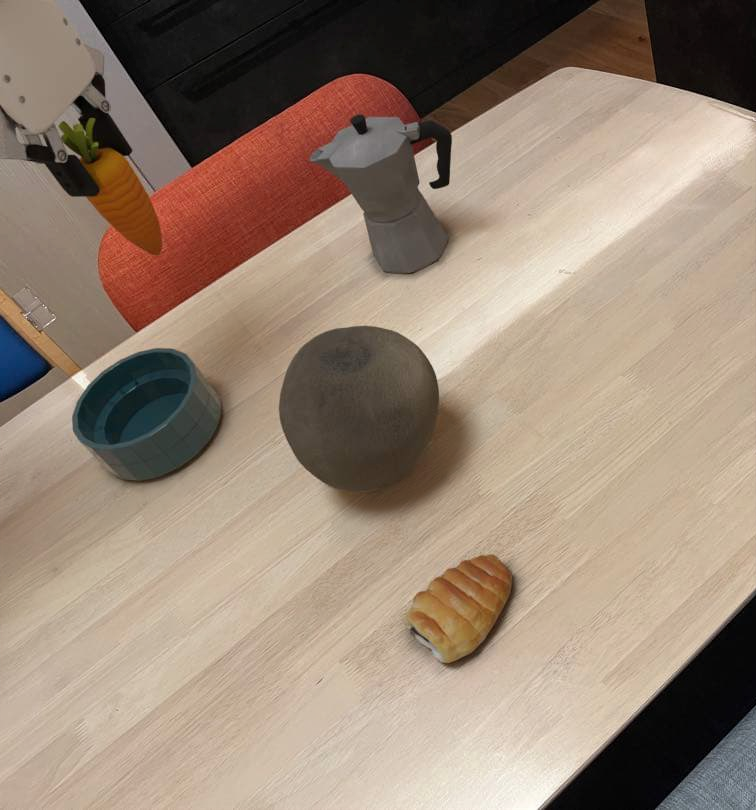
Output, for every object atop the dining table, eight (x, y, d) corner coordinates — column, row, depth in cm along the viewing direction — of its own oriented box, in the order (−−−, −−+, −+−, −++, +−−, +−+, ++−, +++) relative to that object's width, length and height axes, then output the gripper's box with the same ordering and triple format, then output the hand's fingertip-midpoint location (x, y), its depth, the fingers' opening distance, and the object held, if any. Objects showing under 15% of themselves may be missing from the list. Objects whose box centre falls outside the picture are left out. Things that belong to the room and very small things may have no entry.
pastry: (478, 549, 79) (466, 526, 76) (534, 590, 75) (524, 567, 73) (401, 631, 76) (386, 610, 73) (457, 678, 72) (443, 658, 69)
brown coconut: (429, 530, 81) (370, 429, 70) (296, 509, 86) (221, 410, 75) (480, 408, 89) (435, 299, 78) (355, 394, 94) (296, 290, 83)
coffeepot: (356, 287, 105) (291, 157, 92) (360, 235, 111) (300, 106, 98) (485, 258, 103) (438, 122, 90) (482, 207, 110) (438, 73, 96)
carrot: (132, 250, 91) (38, 121, 80) (179, 230, 91) (93, 99, 80) (137, 278, 88) (40, 147, 76) (185, 257, 88) (96, 124, 77)
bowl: (82, 478, 95) (47, 444, 90) (144, 381, 103) (114, 345, 98) (187, 488, 91) (156, 453, 86) (243, 387, 99) (217, 350, 94)
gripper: (-7, -72, 75) (117, 119, 88) (-148, 41, 65) (16, 237, 78) (65, -82, 72) (180, 116, 86) (-70, 34, 62) (85, 237, 76)
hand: (101, 172), depth 82 cm, fingers closed on carrot, 5 cm apart
